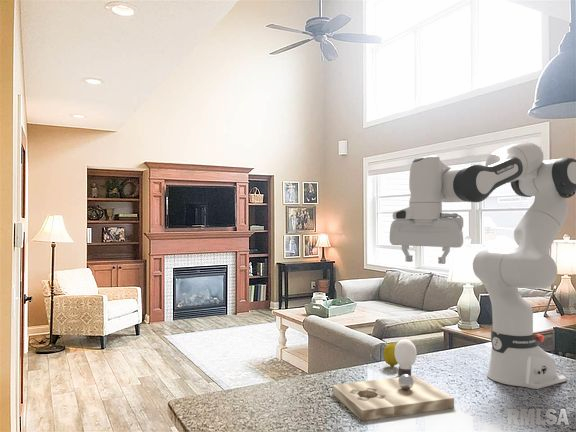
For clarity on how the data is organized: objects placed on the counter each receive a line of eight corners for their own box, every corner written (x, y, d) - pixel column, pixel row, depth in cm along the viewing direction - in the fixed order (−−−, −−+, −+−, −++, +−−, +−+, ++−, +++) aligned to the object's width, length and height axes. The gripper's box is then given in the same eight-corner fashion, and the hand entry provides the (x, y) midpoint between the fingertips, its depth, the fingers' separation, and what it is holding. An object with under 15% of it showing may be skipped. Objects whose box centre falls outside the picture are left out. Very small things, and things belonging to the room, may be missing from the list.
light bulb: (389, 373, 146) (389, 338, 146) (406, 370, 149) (406, 335, 149) (404, 379, 140) (404, 343, 140) (421, 376, 143) (421, 340, 143)
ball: (408, 386, 128) (408, 371, 128) (416, 391, 124) (416, 376, 124) (395, 387, 127) (395, 372, 127) (403, 392, 123) (403, 377, 123)
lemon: (401, 370, 149) (401, 345, 149) (383, 369, 150) (383, 344, 150) (400, 364, 155) (400, 340, 155) (383, 363, 156) (383, 339, 156)
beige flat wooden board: (414, 384, 137) (414, 375, 137) (454, 407, 119) (454, 397, 119) (332, 394, 129) (332, 385, 129) (362, 420, 111) (362, 410, 111)
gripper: (466, 213, 127) (466, 264, 127) (396, 213, 139) (396, 259, 139) (459, 213, 122) (459, 265, 122) (387, 213, 134) (387, 261, 134)
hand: (425, 262), depth 131 cm, fingers open, 8 cm apart
